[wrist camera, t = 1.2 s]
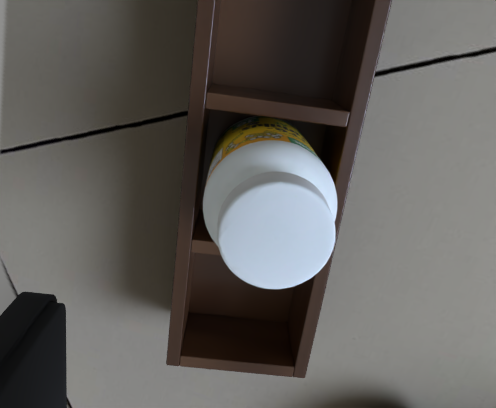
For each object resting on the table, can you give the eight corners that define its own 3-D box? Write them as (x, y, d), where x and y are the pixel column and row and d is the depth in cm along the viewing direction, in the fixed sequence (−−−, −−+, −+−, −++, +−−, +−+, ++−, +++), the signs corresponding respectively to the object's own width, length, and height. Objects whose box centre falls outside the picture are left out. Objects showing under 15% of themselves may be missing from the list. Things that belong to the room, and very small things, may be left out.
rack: (177, 314, 27) (166, 365, 23) (213, -73, 20) (206, -105, 16) (295, 326, 28) (305, 378, 23) (373, -47, 20) (408, -71, 16)
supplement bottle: (199, 192, 24) (174, 282, 15) (229, 98, 22) (222, 137, 13) (290, 220, 24) (319, 324, 15) (326, 132, 23) (382, 191, 14)
